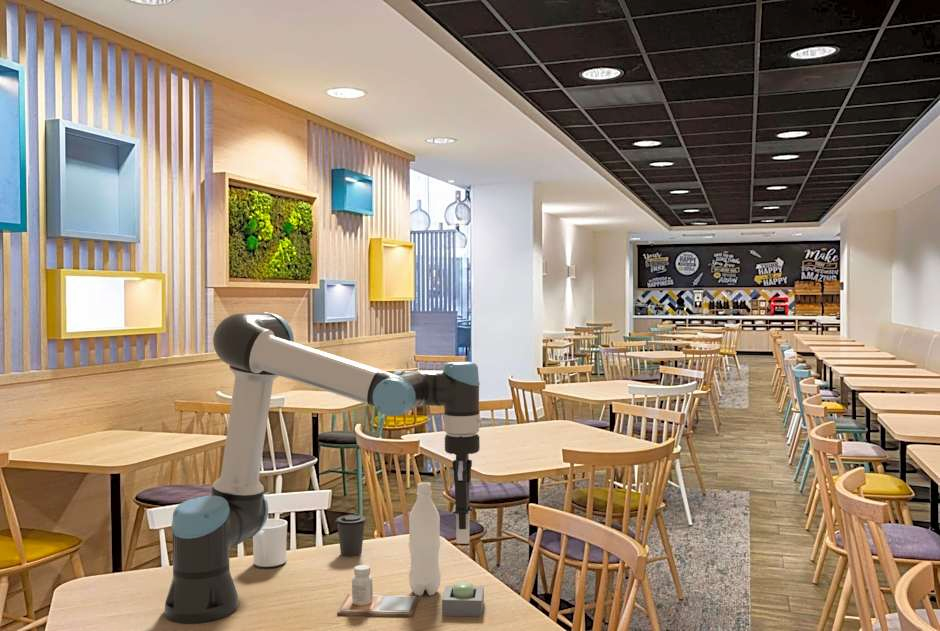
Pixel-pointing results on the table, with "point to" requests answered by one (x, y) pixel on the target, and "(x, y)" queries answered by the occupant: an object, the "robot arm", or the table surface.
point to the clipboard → (381, 606)
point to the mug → (270, 544)
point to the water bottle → (424, 543)
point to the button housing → (463, 603)
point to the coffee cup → (350, 534)
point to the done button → (463, 590)
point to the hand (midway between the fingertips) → (463, 542)
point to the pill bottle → (362, 586)
